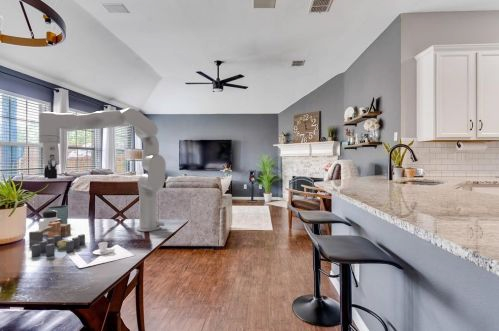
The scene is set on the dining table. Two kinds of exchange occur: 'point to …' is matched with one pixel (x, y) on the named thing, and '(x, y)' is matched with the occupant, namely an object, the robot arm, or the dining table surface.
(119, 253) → the teacup and saucer
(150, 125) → the robot arm
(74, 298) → the dining table surface
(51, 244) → the board
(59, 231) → the wooden toy mallet
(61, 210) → the grey cup
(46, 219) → the medicine bottle
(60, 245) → the brass nut
